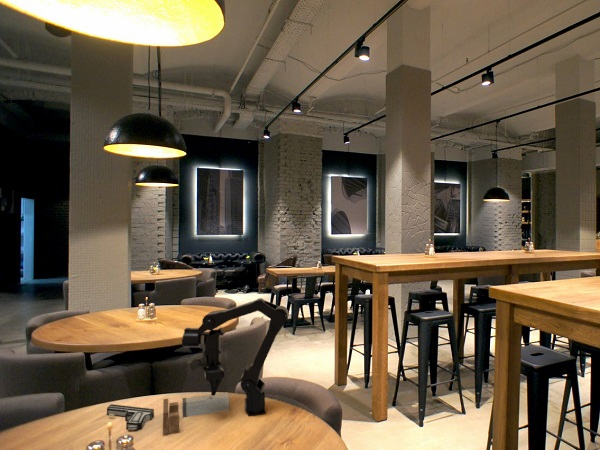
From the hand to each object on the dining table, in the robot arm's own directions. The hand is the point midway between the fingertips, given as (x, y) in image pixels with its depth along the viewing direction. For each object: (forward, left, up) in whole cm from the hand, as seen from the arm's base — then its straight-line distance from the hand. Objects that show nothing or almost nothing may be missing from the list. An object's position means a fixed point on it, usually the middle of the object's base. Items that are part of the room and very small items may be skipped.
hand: (211, 390), depth 135 cm
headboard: (+13, +7, -7) cm, 17 cm away
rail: (+2, 0, -7) cm, 8 cm away
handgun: (+29, -2, -8) cm, 30 cm away
